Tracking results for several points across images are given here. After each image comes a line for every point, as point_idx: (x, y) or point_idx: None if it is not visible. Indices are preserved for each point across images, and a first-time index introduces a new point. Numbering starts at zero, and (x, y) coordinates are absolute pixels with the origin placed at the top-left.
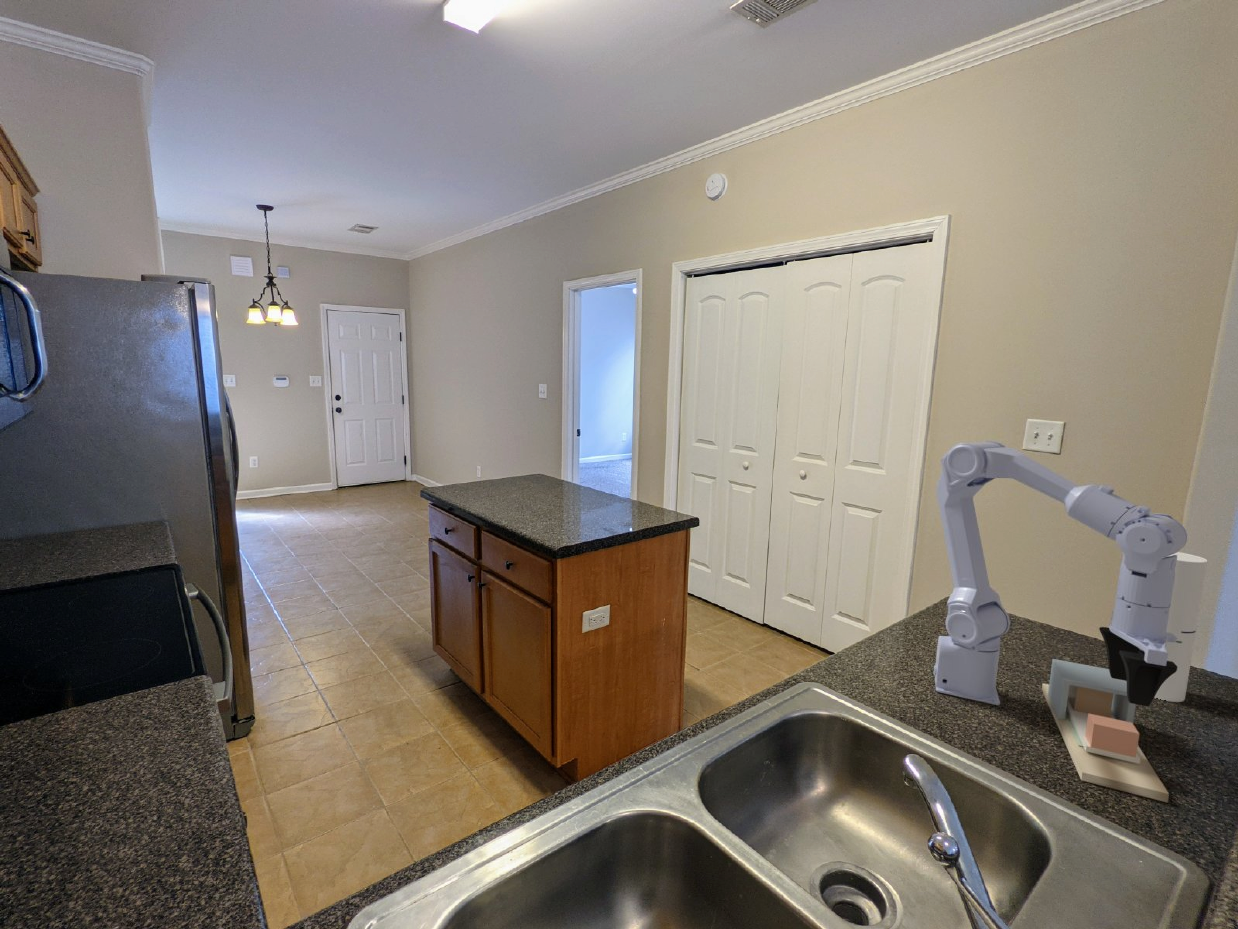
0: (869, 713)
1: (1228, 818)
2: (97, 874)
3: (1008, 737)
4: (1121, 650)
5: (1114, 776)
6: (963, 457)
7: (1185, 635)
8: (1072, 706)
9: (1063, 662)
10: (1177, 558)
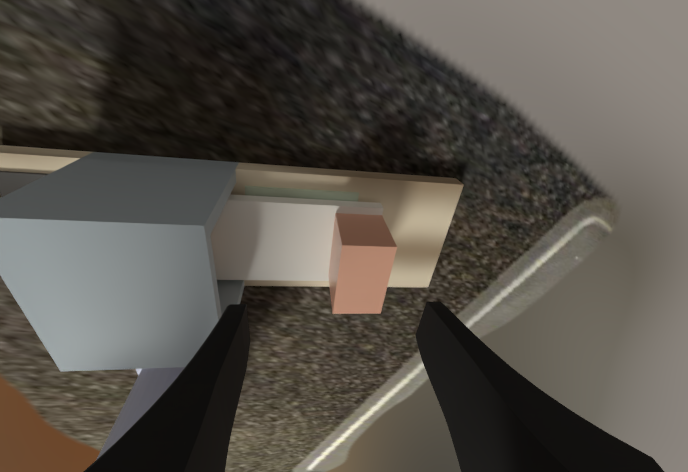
0: (342, 436)
1: (485, 85)
2: None
3: (332, 337)
4: (215, 465)
5: (427, 250)
6: None
7: None
8: None
9: (66, 353)
10: None
